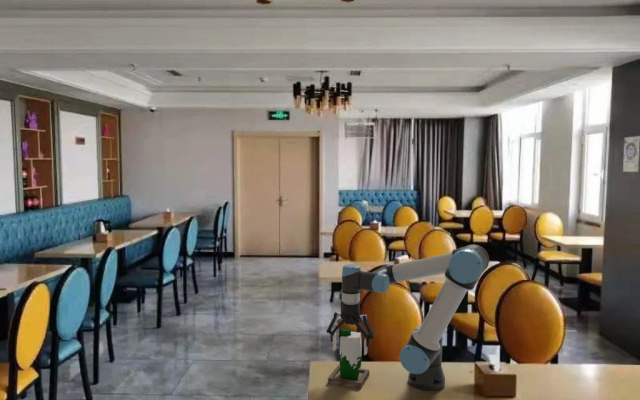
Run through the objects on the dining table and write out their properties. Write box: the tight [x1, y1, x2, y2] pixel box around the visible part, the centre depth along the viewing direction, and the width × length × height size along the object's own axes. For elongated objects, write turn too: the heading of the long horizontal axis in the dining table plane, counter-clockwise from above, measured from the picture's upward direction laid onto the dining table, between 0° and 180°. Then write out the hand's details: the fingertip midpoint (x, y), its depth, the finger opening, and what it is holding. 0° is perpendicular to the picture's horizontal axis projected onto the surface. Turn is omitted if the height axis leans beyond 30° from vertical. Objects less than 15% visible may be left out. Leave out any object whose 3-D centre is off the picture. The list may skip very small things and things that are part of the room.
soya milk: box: [339, 327, 363, 380], centre depth 221 cm, size 9×9×20 cm
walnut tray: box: [327, 364, 370, 390], centre depth 222 cm, size 14×14×2 cm
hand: (349, 351), depth 221 cm, fingers open, 13 cm apart
